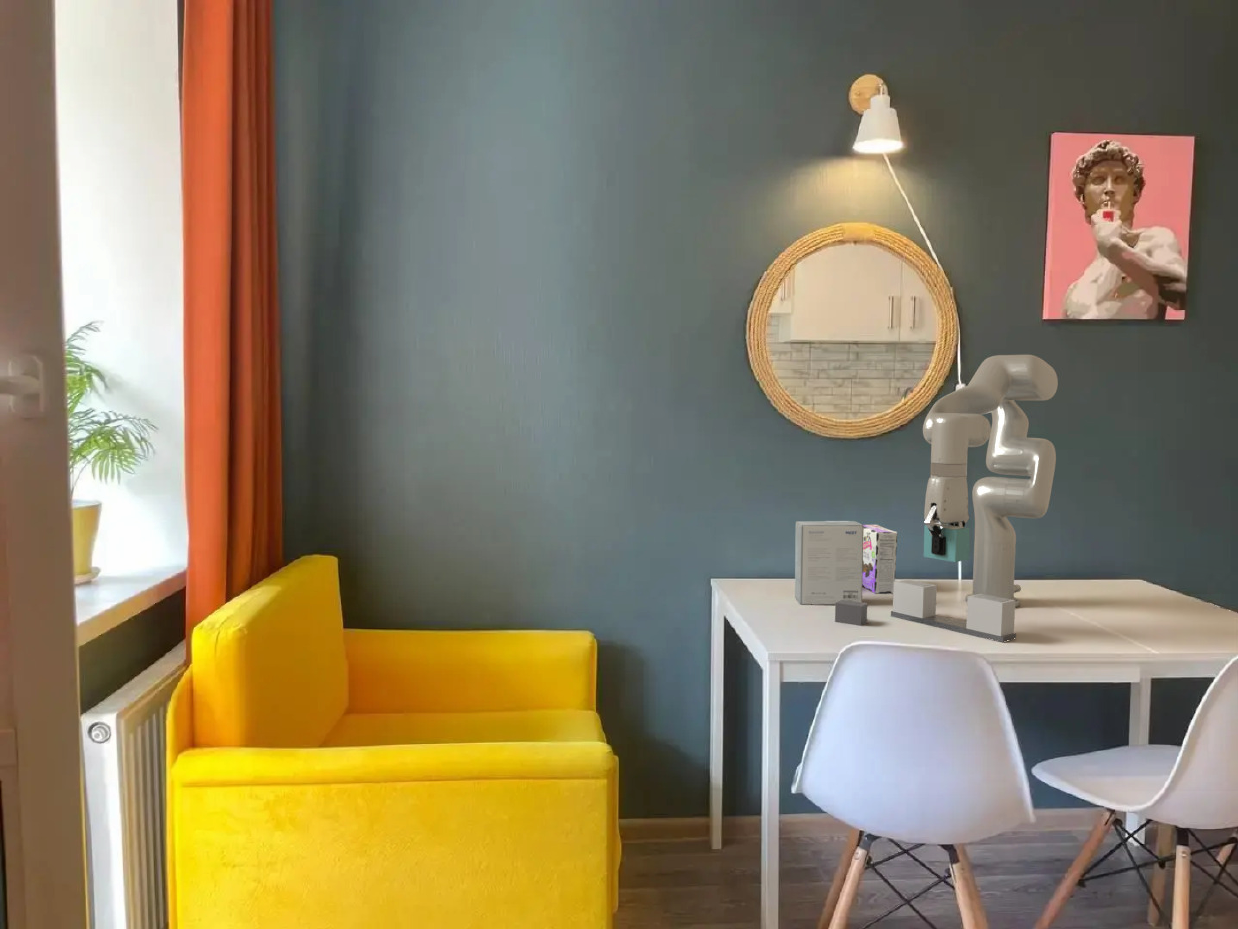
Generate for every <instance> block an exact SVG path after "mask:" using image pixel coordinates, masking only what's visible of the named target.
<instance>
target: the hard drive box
mask: <svg viewBox="0 0 1238 929" xmlns="http://www.w3.org/2000/svg"><path fill="white" fill-rule="evenodd" d="M863 525H864V524H862V523H861V522H858V521H856V520H824V521H823V520H821V521H820V520H815V521H814V520H813V521H812V520H809V521H807V520H806V521H804V520H803V521H801V520H799V521H795V545H794V546H795V551H794V552H795V553H794V554H795V555H794V556H795V559H794V561H795V564H794V566H795V567H794V571H795V572H794V599H795V598H796V599H795V600H796V601H797V602H798V603H799V605H811V604H812V606H813V605H815V606H819V605H835V604H836V602H838V601H840V600H847V601H854V602H862V603H863V586H862V575H863V531H864V526H863Z"/></svg>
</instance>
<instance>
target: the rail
mask: <svg viewBox="0 0 1238 929" xmlns="http://www.w3.org/2000/svg"><path fill="white" fill-rule="evenodd" d="M890 617H892V618H893V617H894V618H898V619H902V620H906V621H911V622H915V623H918V624H919V623H920V624H923V625H927V626H932V627H936V628H939V629H943V630H944V629H945V630H948V631H952V632H957V633H961V634H965V635H969V636H974V637H978V638H983V639H986V638H990V639H993V640H992V641H995V640H998V641H997V642H999V641H1002V642H1001V643H1005V642H1004V641H1007V640H1010V641H1012V640H1011V639H1014V638H1016V639H1017V633H1016V632H1014V633H1012V634H1008V635H1004V636H997V635H993V634H989V633H984V632H980V631H976V630H971V629H967V628H966V626H967V621H962V620H958V619H954V618H949V617H945V616H944V617H943V616H940V615H935V616H930V617H926V618H919V617H915V616H910V615H906V614H902V613H897V612H893V610H891V611H890ZM990 639H989V640H990ZM1014 640H1015V639H1014ZM1007 642H1008V641H1007Z"/></svg>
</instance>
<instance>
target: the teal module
mask: <svg viewBox="0 0 1238 929" xmlns="http://www.w3.org/2000/svg"><path fill="white" fill-rule="evenodd" d="M937 526H938V528H939V529H940V526H939V525H937ZM923 528H924V529H923V532H924V533H923V557H924V558H930V559H935V560H941V561H946V562H952V563H959V562H964V561H968V560H970V538H971V537H970V535H971V534H970V532H971V531H970V530H971V528H970V527H966V526H964V527H959V526H952V525H948V524H946V528H945V533H944V537H946V550H945V555H943V556H942V555H936V554H932V553H931V547H932V536H931V535H930V531H929V529H928V527H927V526H926V525H925V524H924V527H923Z"/></svg>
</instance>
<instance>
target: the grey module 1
mask: <svg viewBox="0 0 1238 929" xmlns="http://www.w3.org/2000/svg"><path fill="white" fill-rule="evenodd" d="M937 586H938V585H936V584H932V583H928V582H923V581H917V580H912V579H902V580H895V582H894V590H893V594H892V597H893V598H892V611H893V612H897V613H902V614H906V615H910V616H915V617H919V618H926V617H930V616H935V615H936V613H937V590H938V589H937ZM936 616H937V615H936Z"/></svg>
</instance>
